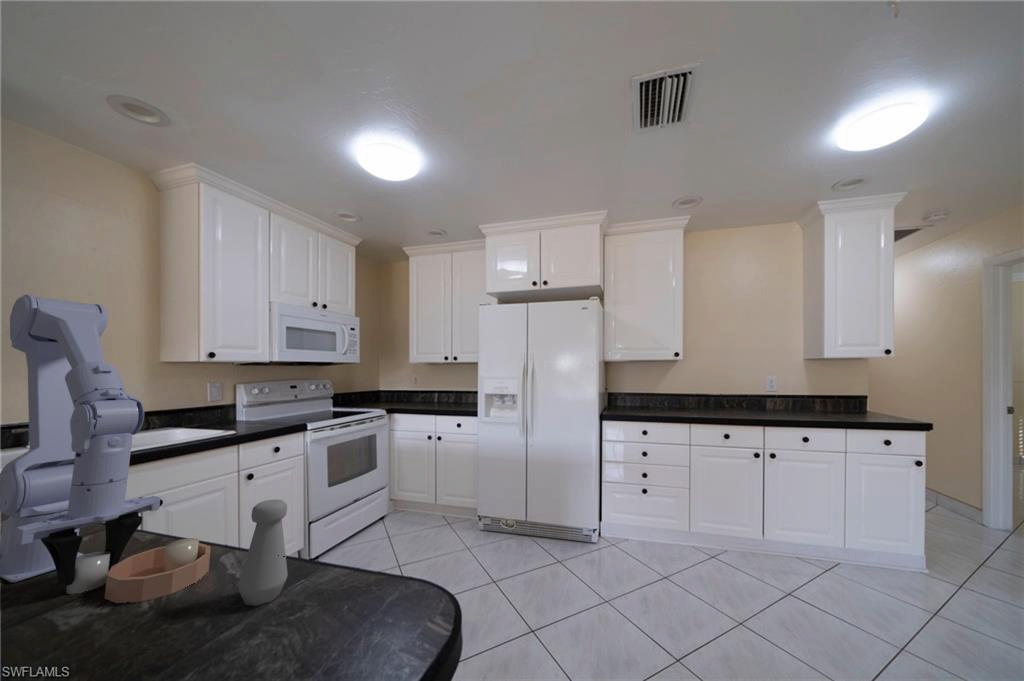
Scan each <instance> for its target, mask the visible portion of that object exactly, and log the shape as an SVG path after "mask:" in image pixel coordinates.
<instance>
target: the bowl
mask: <svg viewBox="0 0 1024 681" xmlns="http://www.w3.org/2000/svg"><path fill="white" fill-rule="evenodd" d="M165 547H166V545H165V546H159V547H155V548H152V549H148V550H144V551H142V552H139V553H137V554H133V555H130V556H128V557H126V558H125V559H123V560H121V561H119V562H118V563H117V564H116V565H114V566H112V567H111V569H110V570H108V575H107V581H106V583H105V591H104V599H105V600H106V601H107V600H108V601H110V602H113V603H114V602H115V603H114V604H127V602H129V604H130V603H142V602H145V601H151V600H154V599H158V598H162V597H166V596H170V595H173V594H174V593H177V592H179V591H181V590H184V589H186V588H188V587H190V586H189V585H191V584H193V583H195V584H196V583H198V582H199V581H200V580H202V577H203V576H204V575H205V574H206V573H207V572H208V573H209V570H210V569H209V568H210V559H211V545H207V544H204V543H201V542H199V545H198V554H197V560H196V561H194V562H192V563H190V564H187V565H185V566H182V567H180V568H177V569H175V570H172V571H168V572H163V564H164V555H165ZM206 575H207V574H206ZM206 575H205V576H206ZM205 576H204V577H205ZM204 577H203V578H204ZM199 579H200V580H199ZM198 580H199V581H198ZM197 581H198V582H197ZM193 585H194V584H193ZM187 586H188V587H187ZM191 586H192V585H191ZM185 587H186V588H185Z"/></svg>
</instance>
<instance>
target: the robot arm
mask: <svg viewBox="0 0 1024 681" xmlns="http://www.w3.org/2000/svg"><path fill="white" fill-rule="evenodd" d="M107 311H108V310H107V309H106V308H105V307H104V305H102V304H97V303H94V304H92V303H84V302H77V301H70V300H63V299H57V298H55V299H54V298H49V297H42V296H41V297H39V296H34V295H32V294H23V295H22V296H20V297H18V298H17V299H16V300H15V301H14V303H13V306H12V308H11V313H10V316H9V339H10V341H11V347H12V348H14V349H16V351H20V352H22V353H24V354H25V359H26V360H25V361H26V367H27V390H28V391H27V392H28V393H27V396H28V398H27V399H28V403H27V404H28V443H29V444H28V446H29V450H28V451H26V452H24V453H22V454H21V455H18V456H17V457H15V458H14V459H12V460H10V461H9V462H8V463H6V464H5V465H4V466H3V468H2V469H1V471H0V512H1V513H3V514H4V515H7V516H9V517H8V518H7V520H6V521H5V522H4V524H3V525H2V529H1V533H0V534H1V535H0V578H1V579H4V580H6V581H8V582H9V583H17V582H20V581H23V580H26V579H29V578H33V577H36V576H38V575H43V574H45V573H49V572H52V571H55V570H56V575H57V583H58V585H61V586H63V587H67V586H68V585H71V584H72V583H73V580H74V574H75V563H76V557H79V556H82V555H85V553H82V552H79V549H80V546H81V544H82V541H83V538H84V537H82V536H81V535H80V534H79V533H80V529H83V528H87V527H90V526H95V525H98V524H103V523H104V525H105V526H104V527H105V546H104V551H109V552H111V554H110V562H109V570H108V571H110V569H111V567H112V566H114V565H116V564H117V563H119V562H120V560H121V557H122V555H123V553H124V551H125V548H126V546H127V545H128V543H129V541H130V539H131V538H132V537H133V535H134V534H135V532H136V531H137V530H138V529H139V527H140V526H141V525H142V522H143V516H141V515H139V514H141V513H144V512H145V513H146V512H154V511H158V510H160V505H161V497H160V496H156V495H152V496H147V497H142V498H135V499H129V500H126V493H127V485H128V477H129V470H130V460H131V452H132V446H133V444H132V443H133V437H134V435H136V434H138V433H139V432H140V431H141V429H142V426H143V424H144V420H145V409H144V405H143V402H142V400H140V398H137V397H135V396H134V395H133V394H132V393H130V394H129V393H127V391H126V388H125V385H124V383H123V381H122V378H121V374H120V373H119V371H118V368H117V367H116V366H115V365H113V364H112V363H108V362H106V361H105V357H104V352H103V348H102V344H101V337H102V336H103V333H104V332H105V331H106V328H107V327H108V326H107V325H108V322H109V314H108V312H107Z"/></svg>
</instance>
